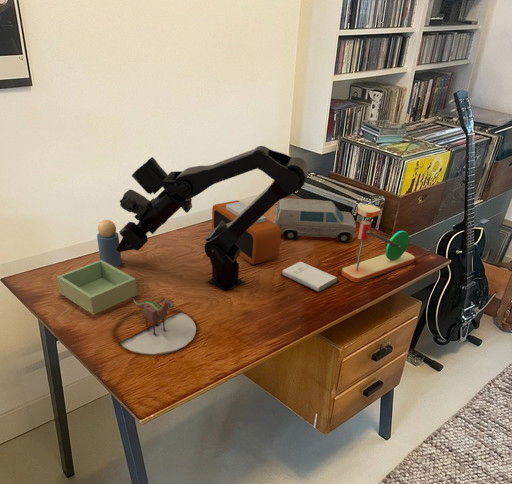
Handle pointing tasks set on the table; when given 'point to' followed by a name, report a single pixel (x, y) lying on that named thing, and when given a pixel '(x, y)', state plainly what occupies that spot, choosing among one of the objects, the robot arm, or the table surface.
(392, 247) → the crank mechanism
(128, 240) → the robot arm
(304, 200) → the toy car
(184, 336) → the dinosaur
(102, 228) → the peg doll
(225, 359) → the table surface
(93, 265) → the green square tray
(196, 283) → the table surface
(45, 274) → the table surface
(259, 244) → the alarm clock
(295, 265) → the hard drive
